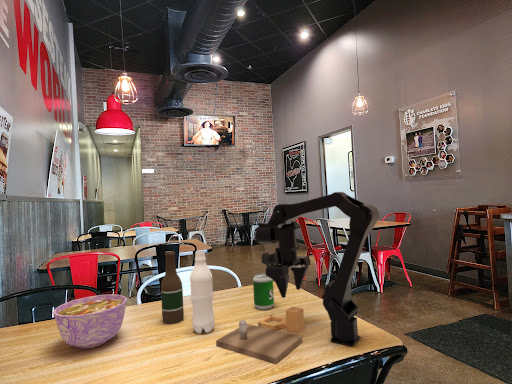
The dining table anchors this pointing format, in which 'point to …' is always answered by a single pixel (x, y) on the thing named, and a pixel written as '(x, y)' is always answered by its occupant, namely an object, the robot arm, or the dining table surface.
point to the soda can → (263, 292)
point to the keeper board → (259, 342)
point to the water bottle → (202, 295)
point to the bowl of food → (90, 319)
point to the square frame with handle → (286, 320)
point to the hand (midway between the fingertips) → (291, 293)
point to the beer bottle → (171, 292)
